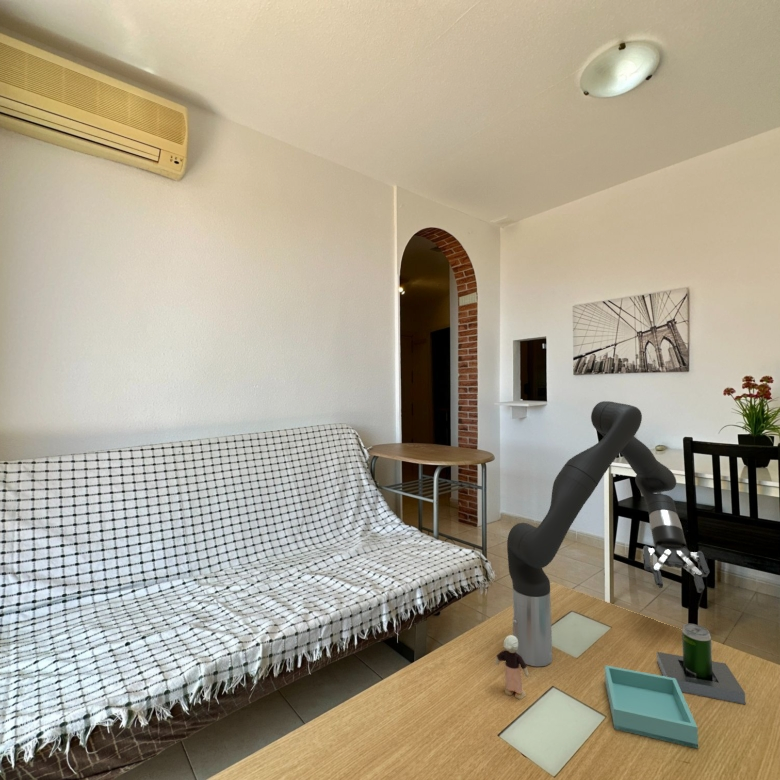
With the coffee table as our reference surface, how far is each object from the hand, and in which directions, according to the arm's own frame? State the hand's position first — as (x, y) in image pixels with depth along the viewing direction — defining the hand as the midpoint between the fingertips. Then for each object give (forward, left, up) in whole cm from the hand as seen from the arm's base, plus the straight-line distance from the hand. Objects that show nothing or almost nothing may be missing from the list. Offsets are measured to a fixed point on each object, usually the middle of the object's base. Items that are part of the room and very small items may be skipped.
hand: (680, 589), depth 106 cm
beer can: (0, -11, -16) cm, 20 cm away
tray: (-13, -25, -16) cm, 33 cm away
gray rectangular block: (0, -11, -16) cm, 20 cm away
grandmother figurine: (-40, -28, -16) cm, 52 cm away
